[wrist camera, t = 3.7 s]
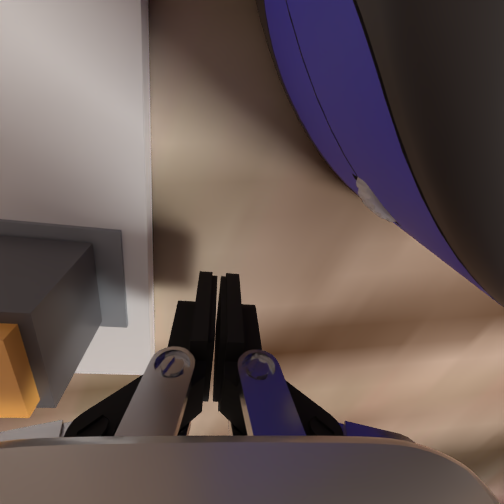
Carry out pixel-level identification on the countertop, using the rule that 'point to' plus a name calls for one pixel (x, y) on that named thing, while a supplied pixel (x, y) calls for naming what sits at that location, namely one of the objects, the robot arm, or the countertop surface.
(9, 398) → the block
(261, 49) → the countertop surface
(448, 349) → the countertop surface
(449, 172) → the charcoal curved rounded device
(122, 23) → the panel board
